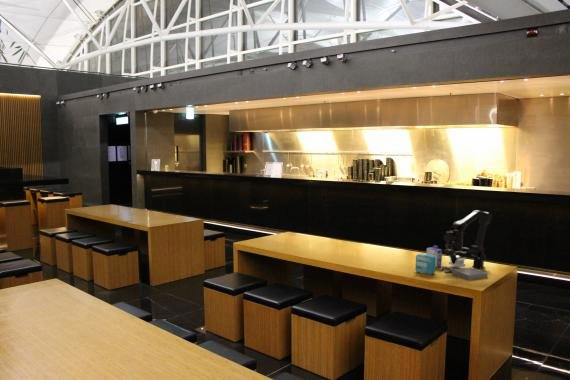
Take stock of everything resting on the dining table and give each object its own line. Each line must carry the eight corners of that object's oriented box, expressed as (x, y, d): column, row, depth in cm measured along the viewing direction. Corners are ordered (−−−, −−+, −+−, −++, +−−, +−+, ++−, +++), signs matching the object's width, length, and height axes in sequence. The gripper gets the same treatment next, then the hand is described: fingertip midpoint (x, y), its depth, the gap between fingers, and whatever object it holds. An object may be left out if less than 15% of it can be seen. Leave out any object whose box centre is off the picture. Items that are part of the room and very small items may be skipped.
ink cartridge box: (442, 266, 339) (442, 246, 337) (436, 267, 336) (437, 247, 334) (430, 263, 347) (431, 243, 346) (425, 264, 344) (426, 244, 343)
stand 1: (456, 267, 337) (457, 264, 336) (468, 271, 327) (469, 268, 326) (444, 269, 332) (444, 266, 332) (456, 273, 322) (456, 270, 322)
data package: (415, 271, 325) (415, 254, 324) (417, 270, 329) (418, 253, 327) (432, 274, 318) (433, 257, 317) (435, 273, 321) (435, 255, 320)
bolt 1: (441, 269, 332) (441, 265, 332) (444, 269, 331) (445, 266, 330) (438, 270, 328) (438, 267, 328) (441, 271, 326) (441, 268, 326)
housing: (455, 263, 334) (455, 254, 334) (465, 266, 326) (465, 257, 325) (448, 263, 332) (449, 255, 331) (458, 267, 324) (458, 258, 323)
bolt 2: (450, 271, 326) (450, 268, 326) (453, 272, 324) (453, 268, 324) (444, 272, 324) (444, 269, 323) (446, 273, 322) (446, 269, 321)
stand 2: (469, 271, 326) (470, 267, 326) (487, 277, 313) (487, 272, 312) (451, 274, 320) (452, 269, 320) (468, 280, 306) (469, 275, 306)
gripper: (459, 237, 338) (458, 259, 340) (439, 239, 331) (438, 261, 332) (471, 240, 328) (470, 263, 330) (450, 242, 321) (449, 265, 322)
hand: (457, 263), depth 329 cm, fingers closed on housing, 6 cm apart
